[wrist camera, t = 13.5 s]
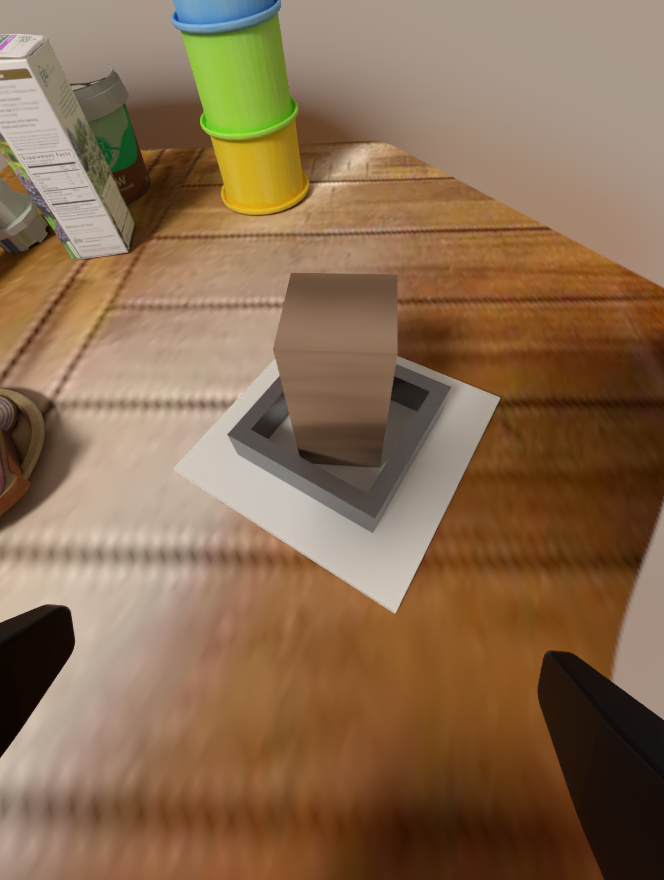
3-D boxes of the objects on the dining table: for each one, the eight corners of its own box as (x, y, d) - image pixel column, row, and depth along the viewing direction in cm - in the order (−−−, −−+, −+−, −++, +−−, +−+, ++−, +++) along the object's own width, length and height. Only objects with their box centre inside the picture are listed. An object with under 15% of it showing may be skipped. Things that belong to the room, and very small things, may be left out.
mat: (394, 613, 19) (395, 612, 19) (175, 472, 24) (172, 468, 23) (498, 402, 26) (500, 397, 25) (310, 325, 31) (310, 320, 30)
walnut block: (379, 467, 23) (397, 353, 14) (301, 463, 23) (273, 349, 15) (381, 404, 25) (397, 274, 17) (310, 400, 26) (291, 272, 17)
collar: (372, 533, 21) (375, 518, 19) (238, 454, 24) (227, 434, 22) (442, 410, 25) (451, 386, 23) (320, 356, 28) (318, 331, 26)
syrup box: (84, 231, 40) (-36, 37, 27) (138, 224, 40) (44, 29, 28) (73, 261, 37) (-66, 60, 25) (132, 254, 37) (23, 51, 25)
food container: (78, 229, 40) (4, 112, 32) (61, 207, 43) (-11, 95, 34) (179, 190, 44) (137, 76, 35) (157, 172, 46) (114, 62, 38)
